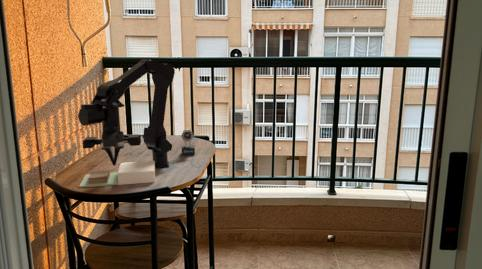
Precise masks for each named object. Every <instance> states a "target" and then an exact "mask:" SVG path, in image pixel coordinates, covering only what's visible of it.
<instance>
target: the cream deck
mask: <svg viewBox="0 0 482 269" xmlns="http://www.w3.org/2000/svg"><path fill="white" fill-rule="evenodd" d="M117 172H118V185H119V186H120V185H121V186H122V185H132V184H146V183H147V184H149V183H155V182H156V168H155V161H153V160H145V161H129V162H121V163H120V165H119V167H118V171H117ZM118 185H117V186H118Z"/></svg>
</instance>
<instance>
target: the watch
mask: <svg viewBox="0 0 482 269" xmlns="http://www.w3.org/2000/svg"><path fill="white" fill-rule="evenodd" d="M194 137H195V134H194V133H193V131H192V129H191V128H185V129H184V130H183V131H182V133H181V138H182V141H183V144H184V145H181V156H195V155H196V147H195V145H192V142H193V140H194Z"/></svg>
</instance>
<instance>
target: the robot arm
mask: <svg viewBox="0 0 482 269" xmlns="http://www.w3.org/2000/svg"><path fill="white" fill-rule="evenodd" d="M175 71H176V69H175V68H174V67H173V65H172V64H170V63H162V62H157V61H153V60H151V59H141V60H139V61H138V63H136V64H135V65H133V66H132V67H130V68H129V69H128V70H126V71H125V72H123V74H121V75H120V76H118V77H117V78H115V79H111V80H108V81H105V82H104V83H101V84H99V85H98V87H97V88H96V93H95V94H94V97H93V99H92V100H91V102H90V103H89V104H88V103H87V104H86V103H83V104H81V105H80V108H79V111H78V114H77V118H78V121H79V123H80V124H81V125H82V126H84V127H85V126H90V125H91V126H92V125H98V124H102V133H101V138H98V137H97V136H86V137H85V138H84V139H83V141H82V149H93V148H94V147H95V146H96V145H100V146H101V148H100V149H101V150H104V151H105V153H106V154H107V156H108V157H109V159H110V162H111V163H112V166H116V165H117V161H118V157H119V154H120V151H121V149H124V147H125V144H128V145H129V146H131V147H134V146H136V147H137V146H141V142H142V139H143V143H144V144H145V146H146V149H147V150H149V151H151V152H152V161H155V169H156V168H167V167H170V162H169V160H168V152H171V151H172V148H173V144H172V143H171V142H170V141H168V139H167V131H166V129H165V126H164V124H165V115H166V107H167V99H168V91H169V87H170V86H171V84H172V83H173V81H174V77H175V73H176V72H175ZM146 74H150V75H151V79H152V81H153V85H154V91H153V99H152V107H151V116H150V123H149V125H148V127H144V128H143V134H142V137H141V135H140V134H129V135H128V137H125V134H124V131H123V130H121V120H120V119H121V118H120V108H124V107H125V104H123V102H121V101H120V100H121V98H122V97H123V96H124V95H125V93H126V91H127V89H128V88H129V87H130V86H132V85H133V84H135V83H136V82H137V81H139V80H140V79H141V78H142V77H143V76H145V75H146ZM113 148H114V149H113Z"/></svg>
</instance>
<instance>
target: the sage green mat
mask: <svg viewBox="0 0 482 269" xmlns="http://www.w3.org/2000/svg"><path fill="white" fill-rule="evenodd" d="M90 174H91V173H87V174H85V175H84V177H83V179H82V181H81V182H80V183H79V185H78V187H79V188H91V187H93V188H95V187H107V186H118V171H116V172H114V171H113V172H110V176H109V180H108V183H95V184H89V180H88V178H89V176H90Z"/></svg>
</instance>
